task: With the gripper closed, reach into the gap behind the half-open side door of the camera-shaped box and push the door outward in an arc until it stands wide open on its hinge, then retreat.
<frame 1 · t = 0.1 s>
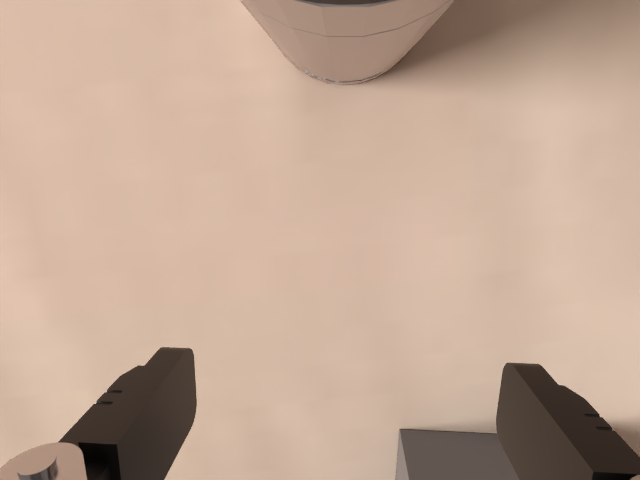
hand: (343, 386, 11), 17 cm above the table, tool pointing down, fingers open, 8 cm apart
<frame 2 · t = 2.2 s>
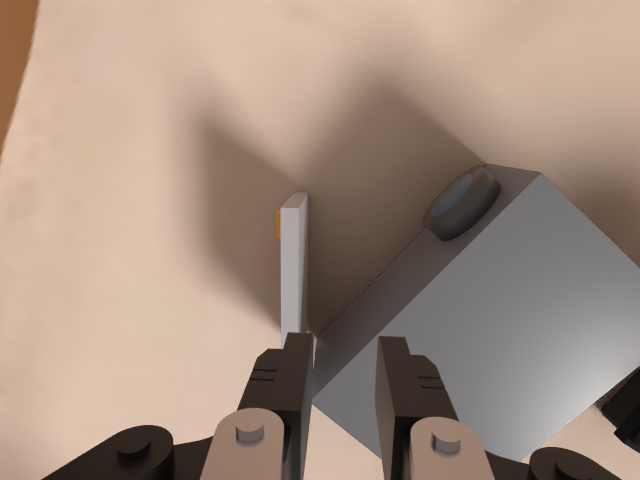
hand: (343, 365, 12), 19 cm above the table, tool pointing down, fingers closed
side door: (292, 289, 27), point 4 cm above the table, hinge at 40.0°
camera box: (454, 307, 31), on the table
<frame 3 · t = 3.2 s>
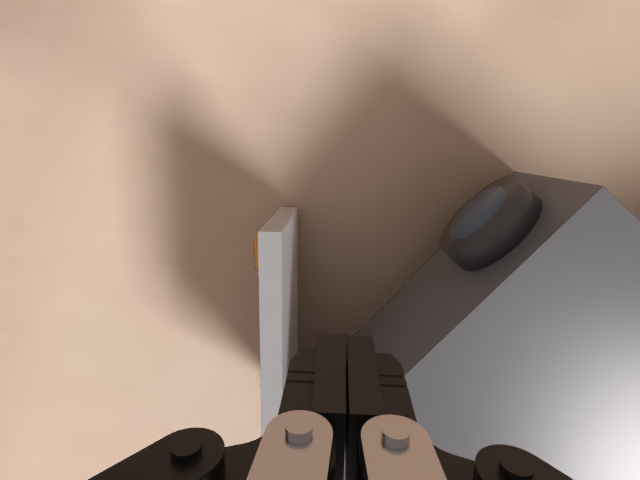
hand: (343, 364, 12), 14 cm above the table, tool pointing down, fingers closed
side door: (277, 328, 22), point 4 cm above the table, hinge at 40.0°
camera box: (475, 344, 26), on the table
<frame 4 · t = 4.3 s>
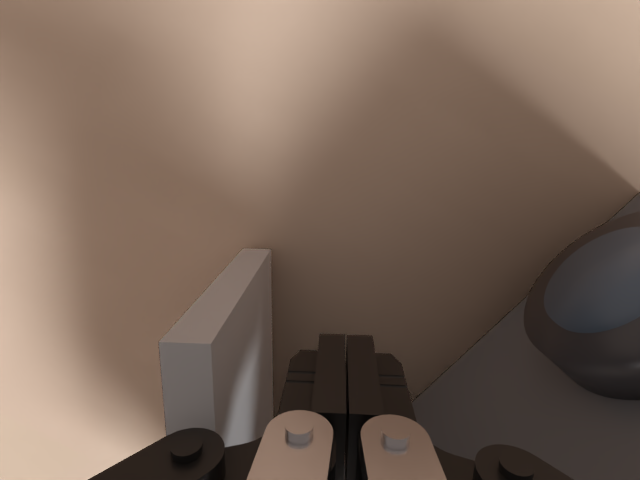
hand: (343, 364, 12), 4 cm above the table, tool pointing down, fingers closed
side door: (230, 469, 13), point 4 cm above the table, hinge at 40.2°, touching gripper
camera box: (555, 462, 16), on the table
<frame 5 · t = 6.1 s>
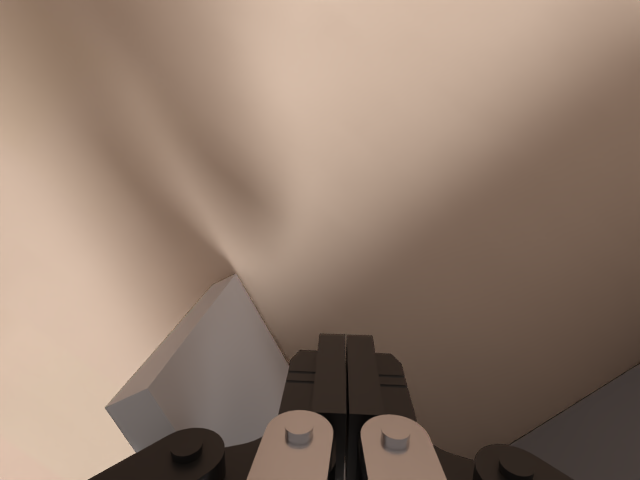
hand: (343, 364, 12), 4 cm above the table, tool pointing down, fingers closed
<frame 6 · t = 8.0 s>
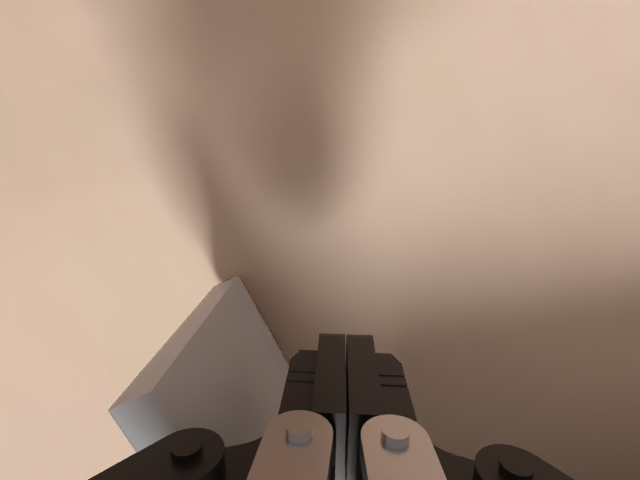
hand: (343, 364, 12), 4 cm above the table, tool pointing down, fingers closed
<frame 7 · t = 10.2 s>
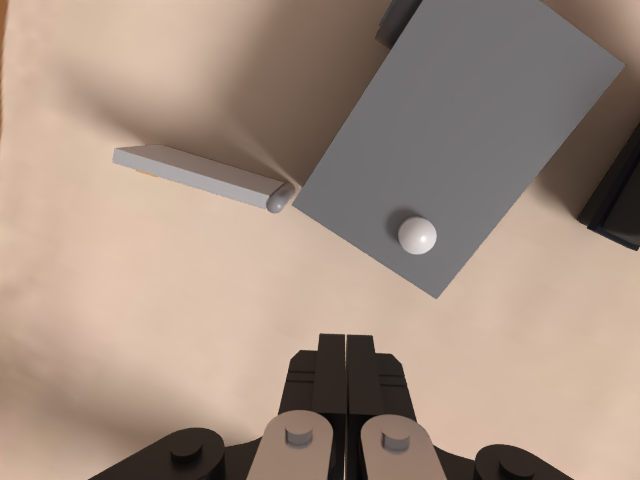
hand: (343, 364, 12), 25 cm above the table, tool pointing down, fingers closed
side door: (213, 178, 32), point 4 cm above the table, hinge at 106.4°
camera box: (424, 136, 34), on the table
black piece: (636, 156, 33), on the table
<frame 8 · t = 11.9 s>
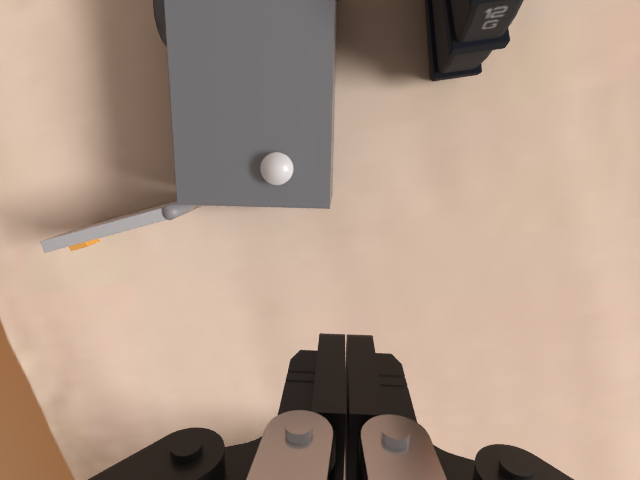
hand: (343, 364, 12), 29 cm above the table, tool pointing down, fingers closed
side door: (130, 223, 37), point 4 cm above the table, hinge at 106.4°
camera box: (269, 95, 38), on the table
black piece: (441, 0, 36), on the table
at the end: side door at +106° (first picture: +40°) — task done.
